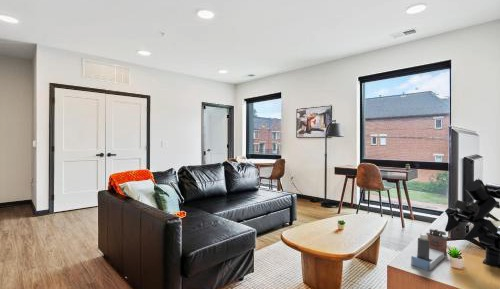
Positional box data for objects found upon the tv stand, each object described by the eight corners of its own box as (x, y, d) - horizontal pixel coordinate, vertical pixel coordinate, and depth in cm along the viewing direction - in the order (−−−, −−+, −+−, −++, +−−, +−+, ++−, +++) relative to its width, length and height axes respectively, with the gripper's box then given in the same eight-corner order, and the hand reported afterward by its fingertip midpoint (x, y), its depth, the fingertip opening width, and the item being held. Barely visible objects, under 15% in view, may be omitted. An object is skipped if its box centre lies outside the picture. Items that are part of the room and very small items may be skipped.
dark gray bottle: (420, 262, 110) (421, 232, 110) (431, 266, 106) (432, 235, 106) (414, 264, 108) (415, 233, 108) (425, 268, 105) (425, 236, 104)
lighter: (424, 249, 123) (425, 228, 123) (427, 247, 125) (427, 226, 125) (445, 255, 117) (446, 233, 117) (447, 253, 119) (448, 231, 119)
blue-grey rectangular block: (427, 253, 119) (427, 245, 119) (444, 258, 114) (444, 250, 114) (411, 264, 108) (411, 256, 108) (429, 270, 103) (429, 262, 103)
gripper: (449, 189, 117) (425, 214, 116) (492, 199, 98) (463, 229, 97) (465, 207, 118) (441, 232, 117) (510, 220, 99) (482, 250, 98)
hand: (455, 235), depth 107 cm, fingers open, 9 cm apart
